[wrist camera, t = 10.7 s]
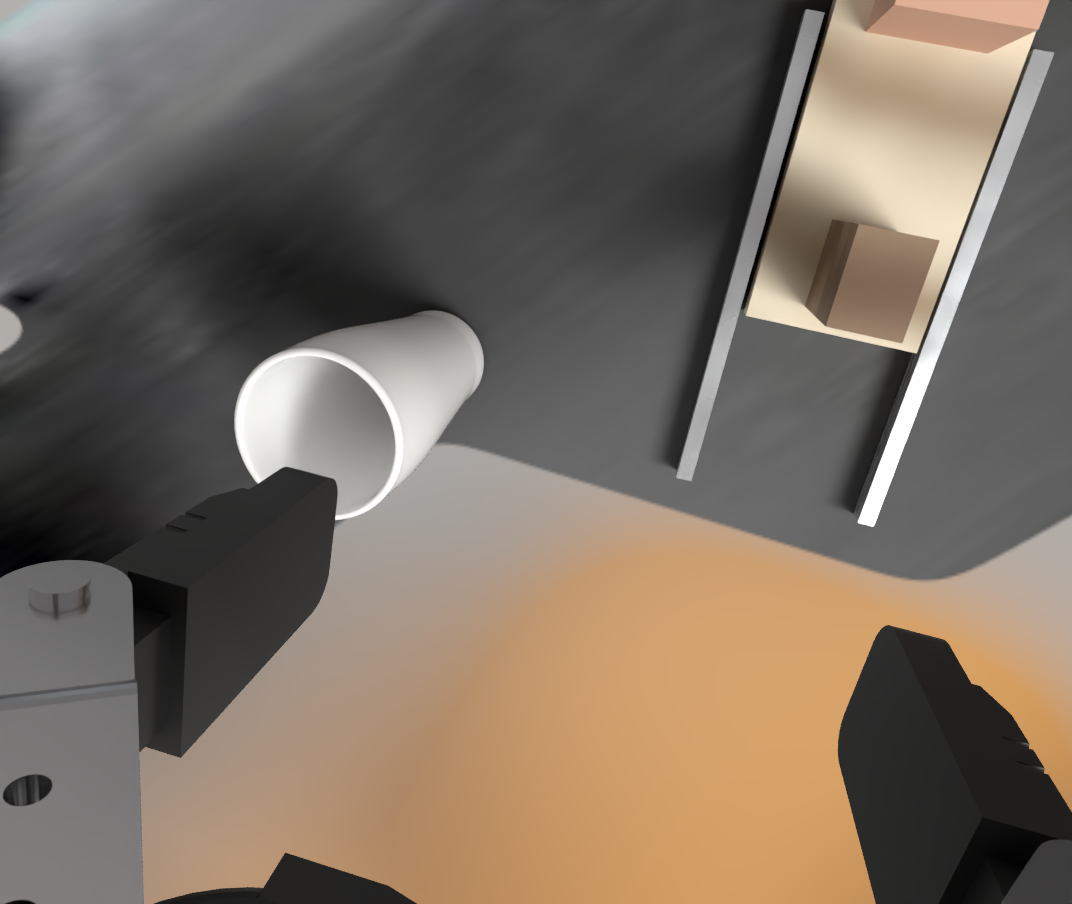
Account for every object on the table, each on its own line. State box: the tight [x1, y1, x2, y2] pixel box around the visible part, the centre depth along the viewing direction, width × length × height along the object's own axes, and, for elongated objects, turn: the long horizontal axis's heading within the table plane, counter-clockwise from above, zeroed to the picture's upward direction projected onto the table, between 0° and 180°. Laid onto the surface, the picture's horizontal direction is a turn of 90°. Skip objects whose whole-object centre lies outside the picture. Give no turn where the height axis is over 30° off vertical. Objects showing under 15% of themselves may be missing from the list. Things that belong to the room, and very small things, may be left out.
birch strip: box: [744, 0, 1036, 353], centre depth 31 cm, size 22×8×8 cm, turn 169°
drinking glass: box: [234, 310, 484, 520], centre depth 35 cm, size 7×7×15 cm
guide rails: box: [676, 9, 1054, 527], centre depth 37 cm, size 22×10×1 cm, turn 169°
